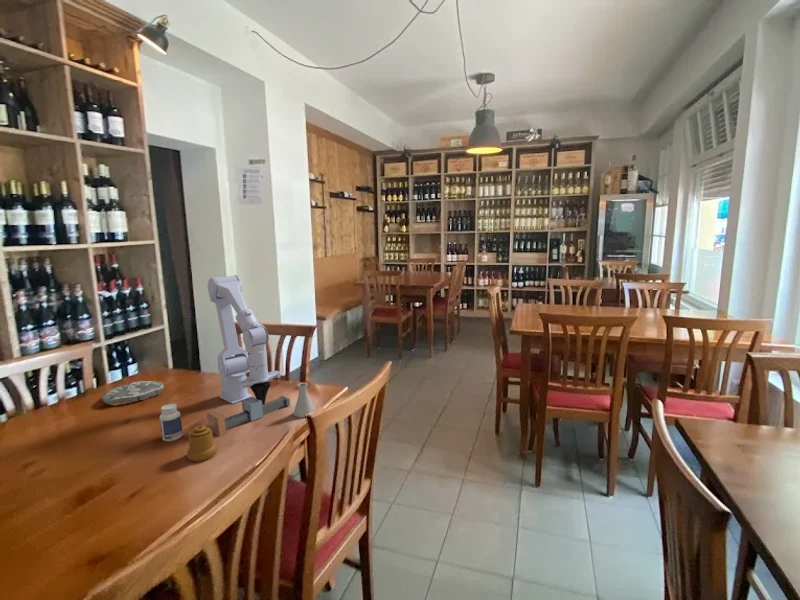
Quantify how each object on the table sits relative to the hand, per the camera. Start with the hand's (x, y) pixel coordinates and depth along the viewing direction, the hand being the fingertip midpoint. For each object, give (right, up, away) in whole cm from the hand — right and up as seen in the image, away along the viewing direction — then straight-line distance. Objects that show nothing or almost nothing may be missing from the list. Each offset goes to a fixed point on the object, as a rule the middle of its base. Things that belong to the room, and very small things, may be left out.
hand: (261, 403), depth 138 cm
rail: (-2, -4, -2) cm, 5 cm away
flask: (+14, -3, 0) cm, 15 cm away
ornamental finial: (-8, -8, -24) cm, 26 cm away
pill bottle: (-22, -7, -14) cm, 26 cm away
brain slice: (-53, -2, +18) cm, 56 cm away
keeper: (-2, -4, -2) cm, 5 cm away
